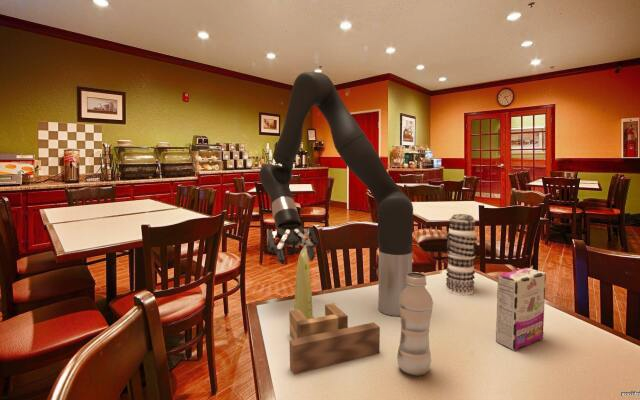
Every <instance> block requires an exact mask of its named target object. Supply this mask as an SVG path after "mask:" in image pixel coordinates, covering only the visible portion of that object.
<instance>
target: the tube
mask: <svg viewBox="0 0 640 400" xmlns="http://www.w3.org/2000/svg"><path fill="white" fill-rule="evenodd" d="M310 270H311V269H310V259H309V256H308V252H307V249H306V245H305V247H304V246H303V248H302V249H301V251H300V253H299V256H298V260H297V266H296V275H295V287H294V288H295V290H294V310H298V309H299V310H300V311H301V312H302V314H303V315H304V316H305V317H306V319H313V296H312V295H313V293H312V280H311V271H310Z"/></svg>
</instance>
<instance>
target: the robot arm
mask: <svg viewBox="0 0 640 400" xmlns="http://www.w3.org/2000/svg"><path fill="white" fill-rule="evenodd" d="M313 106H316V107H317V109H318V110H319V111H320V112H321V114H322V116H323V117H324V118H325V120H326V122H327V124H328V126H329V129H330V133H331V138H332V142H333V145H334V148H335V150H336V152H337V153H338V155H339V156H340V158H341V160H342V161H343V163H344V164H345V165H346V167H347V168H348V169H349V171H351V172H352V173H353V175H355V177H356V178H357V179H358V180H359V181H361V183H363V184H364V186H365V187H366V188H367V189H368V190H369V192H370V193H371V195H372V197H373V198H374V200H375V203H376V204H377V206H378V209H377V243H378V290H377V291H378V297H377V299H378V300H377V302H378V306H377V307H378V310H379V311H380V312H381V313H383V314H385V315H388V316H393V317H394V316H395V317H401V315H400V307H399V298H400V295H401V293H402V292H403V290H404V289H405V288H406V287H407V284H406V275H407V273H411V272H413V220H414V218H413V217H414V206H413V203H412V202H413V201H412V200H411V199H410V198H409V196H407V194H405V192H403V190H402V189H401V187H399V185H398V184H397V183H396V182H395V181H394V179H393V178H392V176H390V174H389V171H388V170H387V168H386V166H385V165H384V163H383V160H382V159H381V157H380V156H379V154H378V152H377V150H376V149H375V147H374V146H373V145H372V142H371V141H370V140H369V139H368V137H367V135H366V134H365V132H364V131H363V130H362V129H361V127H360V126H359V124H358V123H357V121H356V119H355V118H354V117H353V115H352V114H351V112H350V111H349V109H348V108H347V107H346V105H345V104H344V102H343V99H342V98H341V96H340V93H339V92H338V91H337V88H336V86H335V84H334V82H333V81H332V80H331V78H330V77H329V76H328V75H327V74H325V73H322V72H317V71H315V72H314V71H304V72H301V73H300V74H298V76H297V77H296V78H295V80H294V82H293V85H292V89H291V92H290V98H289V102H288V106H287V111H286V116H285V119H284V123H283V127H282V130H281V133H280V136H279V138H278V141H277V143H276V145H275V147H274V150H273V153H272V158H273V160H274V161H275V162H276V163H277V164H280V165H276V164H269V163H268V164H264V165H263V166H261V168H260V170H259V172H258V173H259V174H258V175H259V177H258V178H259V181H260V184H261V185H262V187H263V188H264V191H265V192H266V194H267V195H268V197H269V201H270V204H271V210H272V217H273V221H274V225H275V228H276V231H273V230H271V229H269V230H268V232H267V235H266V239H267V245H268V252H270V253H275V254H276V256H277V257H276V258H277V261H278V263H280V264H281V265H284V264H285V262H286V260H285V259H286V258H285V255H284V251H283V248H284V246H285V245H287V246H290V245H300V246H301V247H303V248H304V247H305V245H306V250H307V254H308V260H309V262H313V261H314V259H315V257H316V252H315V250H314V249H315V248H317V245H318V243H319V241H318V238H317V236H316V235H317V234H316V233H315V229H314V228H313V227H312V226H309V227H308V228H304V227H303V226H302V222H301V219H300V215H299V213H298V209H297V205H296V203H295V201H294V197H293V195H292V191H291V188H290V187H289V184H291V181H292V175H293V166H294V161H295V159H296V157H297V154H298V152H299V150H300V148H301V146H302V142H303V127H304V123H305V119H306V117H307V115H308V113H309V112H310V111H311V108H312V107H313ZM276 237H277V239H279V240H280V241H279V242H278V244H277V245H276V244H275V240H274V239H275V238H276Z"/></svg>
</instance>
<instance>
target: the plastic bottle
mask: <svg viewBox="0 0 640 400" xmlns="http://www.w3.org/2000/svg"><path fill="white" fill-rule="evenodd" d="M426 276H427V275H426V274H424V273H422V272H416V271H414V272H413V271H412V272H411V273H407V275H406V284H407V287H406V288H405V289H404V290H403V292H402V293H401V295H400V298H399V307H400V315H401V316H400V337H399V338H400V339H399V346H398V349H397V355H396V359H397V365H398V366H399V368H400V370H401V371H402V372H404V373H405V374H407V375H411V376H422V375H426V374H427V373H428V371H429V370H430V367H431V363H432V354H431V350H430V335H429V334H430V324H431V323H430V322H431V318H432V312H433V306H434V301H433V297H432V295H431V294H430V291H428V289H427V288H426V286H427V277H426Z"/></svg>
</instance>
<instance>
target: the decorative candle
mask: <svg viewBox="0 0 640 400" xmlns="http://www.w3.org/2000/svg"><path fill="white" fill-rule="evenodd" d="M448 220H449V228H448V231H446V239H447V241H446V250H448V251H446V256H447V257H448V262H447V268H446V273H445V274H446V276H447V277H446V278H445V281H446V282H445V286H446V289H445V290H446V291H447V292H448V293H450V292H451V293H450V294H454V295H458V296H471V295H473V294H474V293H473V292H475V291H474V289H475V286H474V285H475V280H474V279H475V273H476V272H475V269H474V268H475V266H474V259H475V258H476V256H477V254H476V253H475V252H476V251H477V249H476V248H475V247H474V246H477V245H478V244H477V242H476V241H478V238H477V237H476V236H475V235H476V229H475V228H476V222H477V220H476V219H475V218H474V217H473V215H471V214H466V213H465V214H463V213H458V214H457V213H456V214H453V215H452V216H451V217H450V218H448ZM472 293H473V294H472ZM470 294H471V295H470Z"/></svg>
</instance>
